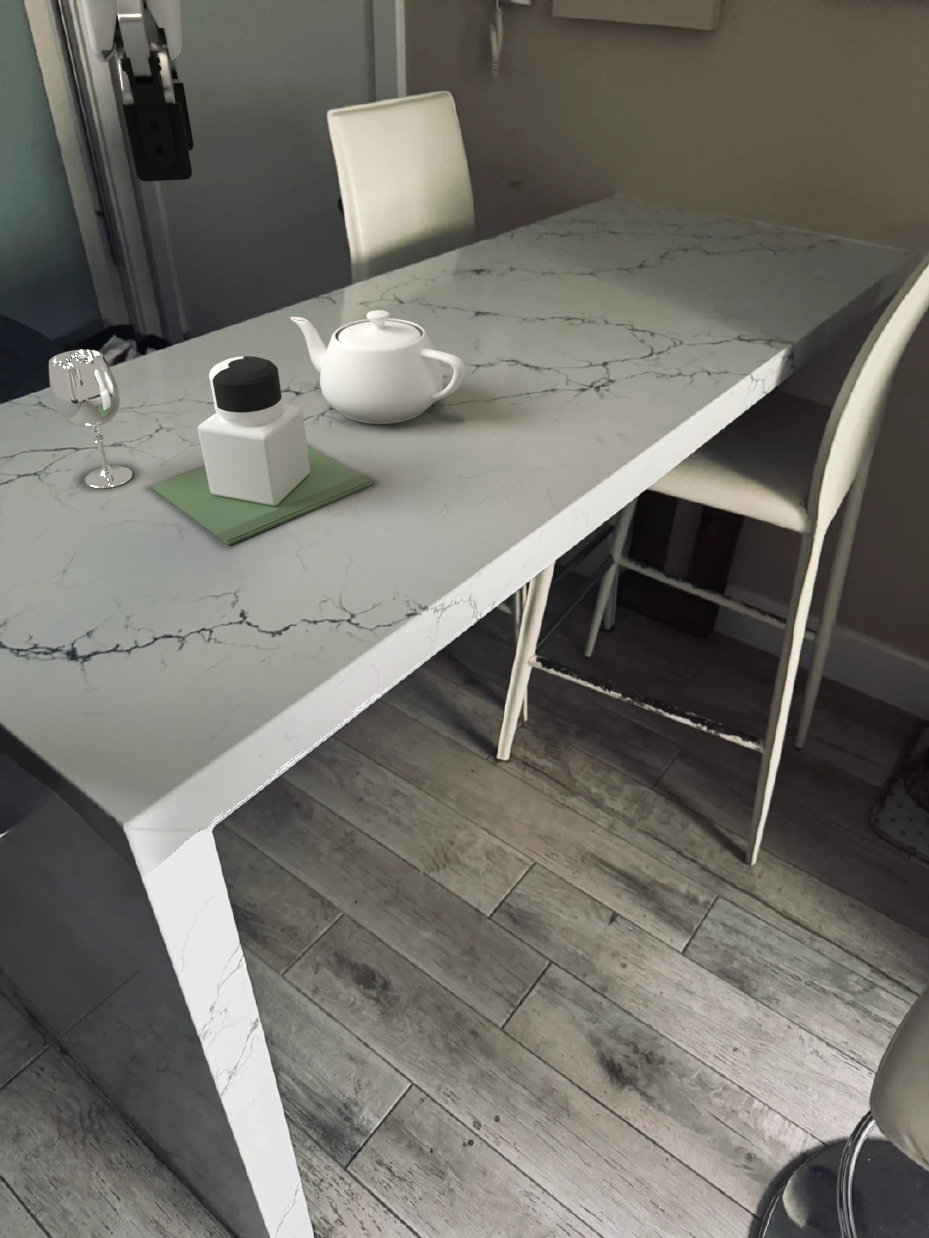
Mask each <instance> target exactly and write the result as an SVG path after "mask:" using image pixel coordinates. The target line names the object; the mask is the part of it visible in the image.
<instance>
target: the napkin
mask: <svg viewBox="0 0 929 1238" xmlns="http://www.w3.org/2000/svg"><path fill="white" fill-rule="evenodd" d="M307 450H308V458H309V466H310V473H309V474H308V475H307V476H306V477H305V478H304V479H303V480H302V481H301V482H300V483H299V484H298V485H297V486H296V487H295V488H294V489H293V490H292V491H291V492H290V493H289V494H288V495H287V496H286V497H285V498H284V499H283V500H282V501H281V502H280V503H279V504H278V505H277V506H271V505H265V504H260V503H254V502H249V501H244V500H238V499H233V498H227V497H222V496H217V495H213V494H211V492H210V487H209V482H208V477H207V472H206V467H205V466H203V467H201V468H198V469H195V470H193V471H190V472H187V473H184V474H181V475H179V476H175V477H173V478H170V479H168V480H165V481H162V482H159V483H157V484H153V485H151V489H152V490H153V491H154V492H156V493H157V494H158V495H160V496H161V497H162V498H164V499H165V500H167V501H168V502H169V503H170V504H172V505H173V506H174V507H176V508H177V509H179V510H180V511H181V512H183V513H184V514H185V515H187V516H188V517H189V518H191V519H192V520H193V521H195V522H196V523H197V524H199V525H200V526H201V527H203V528H204V529H205V530H207V531H208V532H210V533H211V534H212V535H214V536H215V537H216V538H218V539H219V540H220V541H222V542H223V543H225V544H226V545H227V546H232V545H234V544H236V543H239V542H241V541H244V540H246V539H249V538H250V537H253V536H255V535H258V534H260V533H263V532H265V531H267V530H269V529H271V528H274V527H276V526H278V525H281V524H284V523H286V522H288V521H290V520H293V519H295V518H297V517H299V516H302V515H305V514H307V513H309V512H312V511H314V510H316V509H318V508H321V507H324V506H326V505H328V504H330V503H333V502H335V501H338V500H340V499H343V498H344V497H347V496H349V495H352V494H354V493H356V492H359V491H361V490H363V489H365V488H368V487H371V486H373V482H372V481H371V479H369V478H367V477H365V476H364V475H362V474H358V473H357V472H355V471H353V470H352V469H349V468H348V467H346V466H345V465H342V464H341V463H339V462H337V461H336V460H334V459H332V458H330V457H328V456H327V455H325V454H324V453H321V452H320V451H317V450H315V448H312V447H310V446H309V445H307Z"/></svg>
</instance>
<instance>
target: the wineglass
mask: <svg viewBox="0 0 929 1238" xmlns="http://www.w3.org/2000/svg"><path fill="white" fill-rule="evenodd" d="M48 380H49V388H50V393H51V399H52V402H53V404H54V407H55V409H56V411H57V412H58V414H59V415H60V417H61V418H63V420H65V421H66V422H67V423H69V424H70V425H73V426H77V427H81V428H91V431H90V434H91V438H92V440H93V441H94V443H95V445H96V447H97V449H98V452H99V455H100V459H101V467H100V468H98V469H95V470H93V471H91V472H89V473H88V474H87V475H86V476H85V478H84V483H85V484H86V486H88V487H90V488H94V489H109V488H110V489H111V488H115V487H118V486H122V485H124V484H126V483H127V482H129V481H130V480H131V479H132V478H133V475H134V474H133V471H132V469H130V468H128V467H126V466H121V465H110V464H109V462H108V459H107V456H106V453H105V449H104V448H105V447H104V433H103V431H102V429H101V428H100V426H103V425H105V424H106V423H108V422H110V421H111V420H112V419H114V418H115V417H116V415H117V414H118V412H119V409H120V405H121V398H120V397H121V396H120V391H119V386H118V384H117V381H116V378H115V376H114V374H113V371H112V369H111V367H110V366H109V364H108V362H107V360H106V358H105V356H104V354H103V353H102V352H100V351H97V350H95V349H76V350H75V349H74V350H70V351H69V350H68V351H65V352H61V353H58V354H57V355H54V356H52V357H51V358H50V359H49V360H48Z"/></svg>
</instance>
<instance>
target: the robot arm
mask: <svg viewBox="0 0 929 1238" xmlns="http://www.w3.org/2000/svg"><path fill="white" fill-rule="evenodd" d="M180 2H181V1H180V0H81V4H82V8H83V13H84V19H85V23H86V30H87V36H88V41H89V46H90V51H91V53H92V55H93V56H94V57H95V59H97V60H98V61H100V62H101V63H108V62H109V61H110V60H111V58H113V56H114V55H116V56H117V57H116V58H117V63H118V70H119V71H118V72H119V77H120V83H121V92H122V97H123V101H124V103H122V106H121V107H122V111H123V115H124V116H123V117H124V120H125V126H126V129H127V130H126V131H127V134H128V139H129V144H130V149H131V154H132V159H133V163H134V168H135V173H136V177H137V178H138V180H140V181H142V182H163V181H164V182H165V181H185V180H190V179H191V178H192V175H193V169H192V163H191V157H190V151H193V148H194V138H193V132H192V126H191V121H190V114H189V107H188V101H187V97H186V92H185V85H184V82H181V81H180V75H179V74H180V73H179V69H178V63H177V58H178V56H179V55H180V54H181V52H182V49H183V38H182V36H183V34H182V14H181V3H180Z"/></svg>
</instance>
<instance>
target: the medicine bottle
mask: <svg viewBox="0 0 929 1238" xmlns="http://www.w3.org/2000/svg"><path fill="white" fill-rule="evenodd" d="M278 368H279V367H278V366H277V365H276V364H275V363H274V362H273V361H271V360H269V359H266V358H263V357H259V356H251V355H242V356H235V357H231V358H227V359H225V360H222V361H221V362H218V363H217V364H215V365H214V366H213V367H212V368H211V369H210V371H209V373H208V379H209V383H210V389H211V395H212V400H213V406H214V410H215V413H213V415H211V416H209V417H208V418H207V419H205V420H204V421H203V422H201V423H200V424H198V425H197V432H198V437H199V442H200V447H201V452H202V457H203V462H204V467H206V472H207V477H208V482H209V487H210V492H211V494H213V495H217V496H222V497H227V498H233V499H238V500H244V501H249V502H254V503H260V504H265V505H271V506H277V505H278V504H279V503H280V502H281V501H282V500H283V499H284V498H285V497H286V496H287V495H288V494H289V493H290V492H291V491H292V490H293V489H294V488H295V487H296V486H297V485H298V484H299V483H300V482H301V481H302V480H303V479H304V478H305V477H306V476H307V475H308V474H309V473H310V466H309V458H308V450H307V446H308V444H307V443H308V442H307V434H306V427H305V426H306V425H305V420H304V419H305V418H304V409H303V407H301V406H300V405H296V404H295V405H293V404H289V403H283V397H282V396H283V395H282V389H281V382H280V375H279V374H280V373H279V369H278Z"/></svg>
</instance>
